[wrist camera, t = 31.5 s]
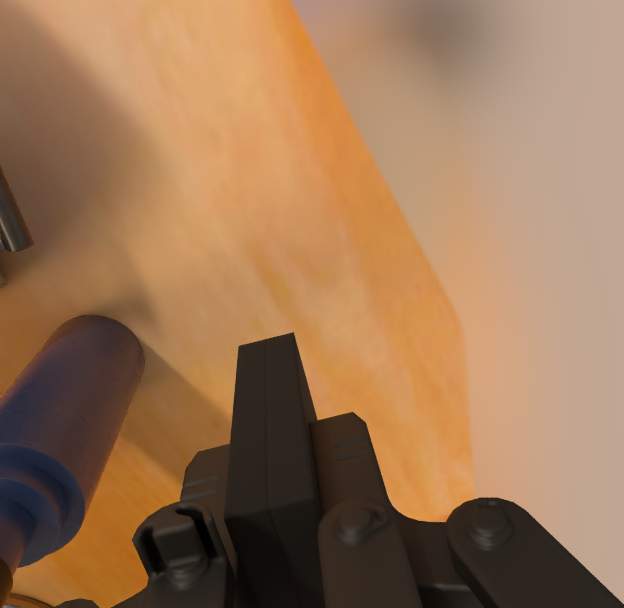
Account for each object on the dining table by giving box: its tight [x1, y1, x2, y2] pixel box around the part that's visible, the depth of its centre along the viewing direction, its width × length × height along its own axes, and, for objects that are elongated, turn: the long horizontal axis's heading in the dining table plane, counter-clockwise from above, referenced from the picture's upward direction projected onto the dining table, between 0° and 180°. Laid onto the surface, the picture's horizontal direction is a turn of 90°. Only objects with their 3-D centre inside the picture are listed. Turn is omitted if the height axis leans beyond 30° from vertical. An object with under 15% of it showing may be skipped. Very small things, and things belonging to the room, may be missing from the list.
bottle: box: [0, 315, 145, 608], centre depth 34 cm, size 7×7×22 cm
